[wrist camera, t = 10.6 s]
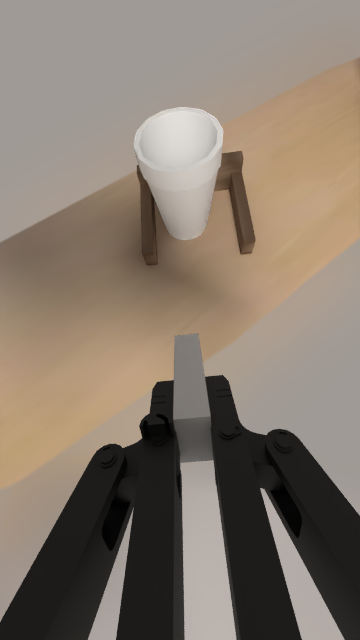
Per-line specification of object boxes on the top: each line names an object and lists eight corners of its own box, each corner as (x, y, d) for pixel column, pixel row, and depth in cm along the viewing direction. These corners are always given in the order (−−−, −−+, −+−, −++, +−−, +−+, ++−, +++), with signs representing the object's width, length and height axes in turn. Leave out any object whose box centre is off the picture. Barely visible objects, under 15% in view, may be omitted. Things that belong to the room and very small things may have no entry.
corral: (147, 265, 37) (138, 244, 32) (144, 192, 41) (136, 165, 37) (251, 253, 36) (258, 230, 31) (237, 180, 40) (241, 150, 36)
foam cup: (160, 197, 41) (141, 107, 29) (218, 198, 40) (225, 105, 27) (152, 248, 38) (127, 172, 26) (214, 250, 37) (220, 172, 24)
